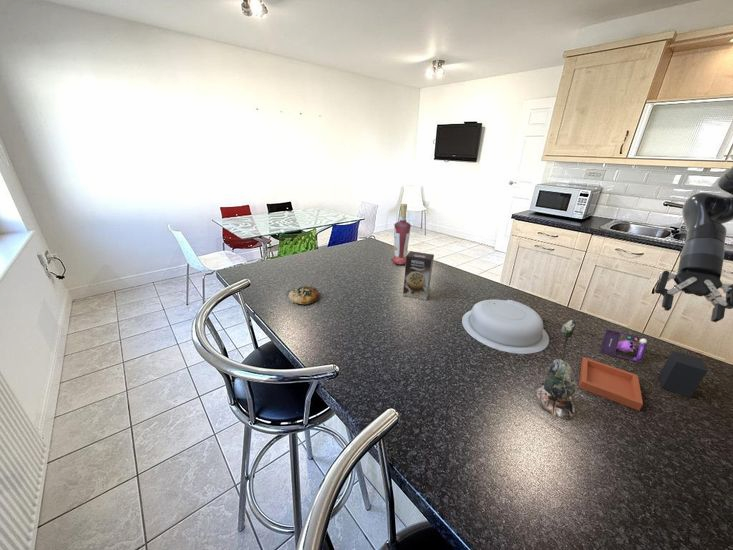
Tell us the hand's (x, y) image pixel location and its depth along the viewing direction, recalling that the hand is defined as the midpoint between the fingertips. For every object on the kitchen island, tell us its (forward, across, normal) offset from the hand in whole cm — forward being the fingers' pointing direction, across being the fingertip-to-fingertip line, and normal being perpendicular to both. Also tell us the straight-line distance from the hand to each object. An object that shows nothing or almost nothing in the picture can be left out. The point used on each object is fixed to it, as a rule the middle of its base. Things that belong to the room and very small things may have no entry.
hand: (690, 315), depth 73 cm
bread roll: (+36, -102, -15) cm, 109 cm away
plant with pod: (+35, -23, -15) cm, 45 cm away
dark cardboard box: (+16, -71, +5) cm, 73 cm away
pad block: (+18, 0, +2) cm, 18 cm away
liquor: (-1, -92, +22) cm, 95 cm away
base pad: (+25, -13, -4) cm, 28 cm away
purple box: (+13, -10, +8) cm, 18 cm away
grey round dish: (+18, -39, +3) cm, 43 cm away
